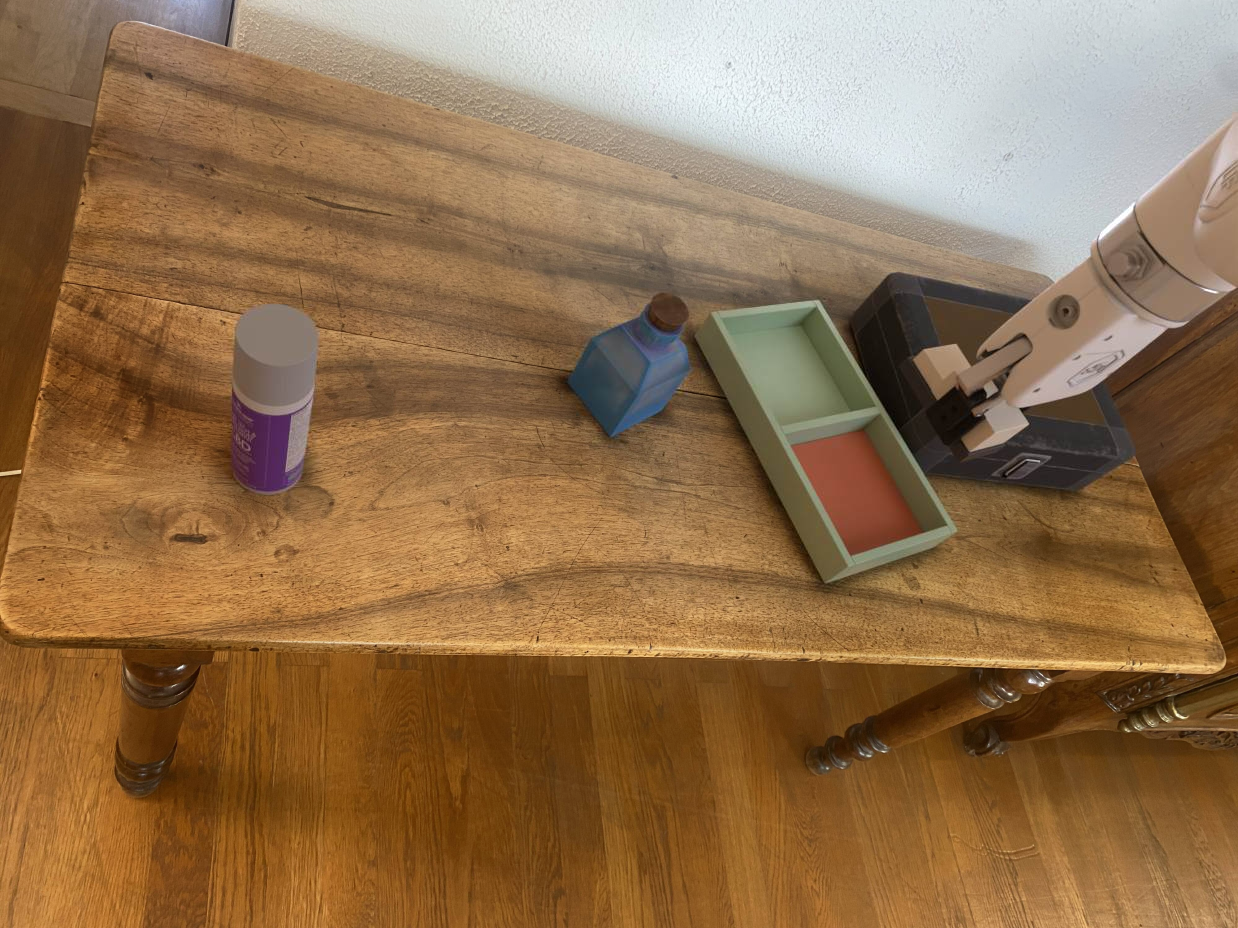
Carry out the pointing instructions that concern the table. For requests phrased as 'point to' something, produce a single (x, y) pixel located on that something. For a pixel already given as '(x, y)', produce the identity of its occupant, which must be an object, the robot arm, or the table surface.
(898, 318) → the cash box
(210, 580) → the table surface
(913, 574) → the table surface
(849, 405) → the tray
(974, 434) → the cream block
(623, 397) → the perfume bottle
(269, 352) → the container
